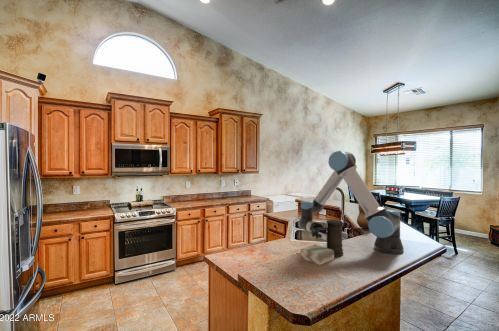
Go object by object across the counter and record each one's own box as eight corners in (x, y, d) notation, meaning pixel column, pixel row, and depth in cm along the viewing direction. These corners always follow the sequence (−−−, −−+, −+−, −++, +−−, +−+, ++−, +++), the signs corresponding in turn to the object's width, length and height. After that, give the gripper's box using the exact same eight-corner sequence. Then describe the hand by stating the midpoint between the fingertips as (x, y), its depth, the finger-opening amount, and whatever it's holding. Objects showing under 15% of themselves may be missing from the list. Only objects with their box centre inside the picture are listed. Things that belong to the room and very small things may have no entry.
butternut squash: (357, 230, 194) (357, 197, 194) (356, 226, 207) (356, 196, 207) (377, 232, 190) (377, 198, 190) (374, 228, 202) (375, 196, 203)
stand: (334, 259, 132) (334, 249, 132) (319, 264, 124) (319, 254, 124) (314, 253, 141) (315, 244, 141) (300, 257, 134) (300, 248, 134)
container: (346, 255, 139) (346, 222, 139) (335, 257, 134) (335, 223, 134) (333, 250, 147) (333, 219, 147) (322, 252, 142) (322, 220, 142)
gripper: (331, 232, 163) (355, 241, 142) (297, 235, 155) (316, 245, 135) (331, 220, 163) (355, 228, 143) (297, 223, 155) (316, 231, 135)
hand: (336, 236), depth 139 cm, fingers open, 13 cm apart
